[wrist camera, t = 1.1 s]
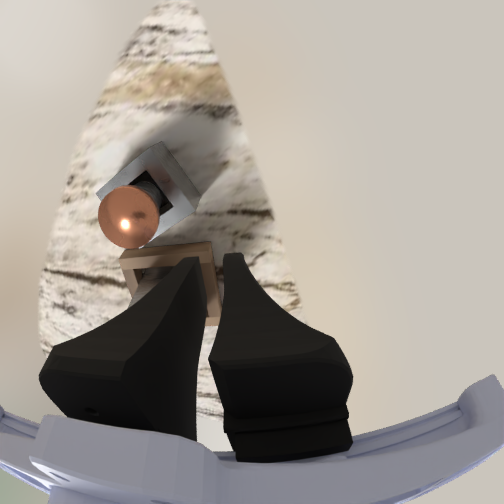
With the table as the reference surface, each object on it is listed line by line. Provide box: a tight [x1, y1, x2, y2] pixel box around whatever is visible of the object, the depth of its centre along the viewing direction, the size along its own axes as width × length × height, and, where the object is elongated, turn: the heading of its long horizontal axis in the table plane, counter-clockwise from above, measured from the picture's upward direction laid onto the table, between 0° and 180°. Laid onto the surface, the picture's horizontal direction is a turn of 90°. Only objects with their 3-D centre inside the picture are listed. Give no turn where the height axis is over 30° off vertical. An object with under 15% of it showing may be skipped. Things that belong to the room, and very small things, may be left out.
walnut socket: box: [119, 242, 222, 326], centre depth 23 cm, size 7×7×2 cm
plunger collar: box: [96, 142, 201, 249], centre depth 19 cm, size 5×5×3 cm
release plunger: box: [98, 182, 162, 249], centre depth 16 cm, size 4×4×4 cm
